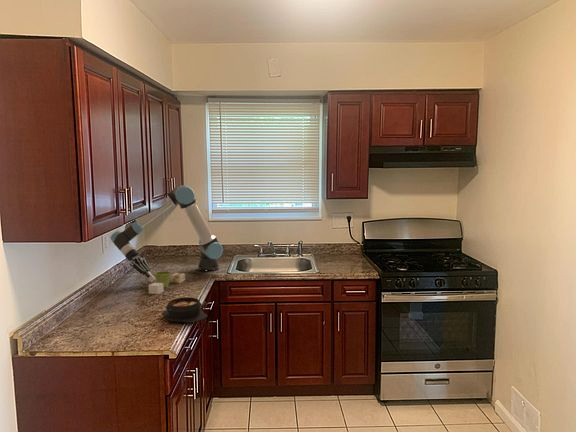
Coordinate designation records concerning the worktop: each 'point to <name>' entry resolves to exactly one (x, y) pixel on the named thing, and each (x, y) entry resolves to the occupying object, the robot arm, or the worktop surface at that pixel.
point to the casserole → (184, 310)
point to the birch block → (178, 277)
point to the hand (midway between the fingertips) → (153, 280)
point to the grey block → (156, 288)
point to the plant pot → (163, 277)
